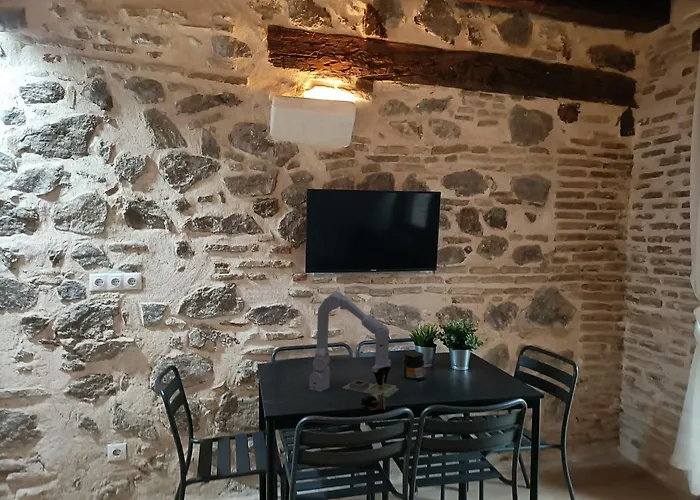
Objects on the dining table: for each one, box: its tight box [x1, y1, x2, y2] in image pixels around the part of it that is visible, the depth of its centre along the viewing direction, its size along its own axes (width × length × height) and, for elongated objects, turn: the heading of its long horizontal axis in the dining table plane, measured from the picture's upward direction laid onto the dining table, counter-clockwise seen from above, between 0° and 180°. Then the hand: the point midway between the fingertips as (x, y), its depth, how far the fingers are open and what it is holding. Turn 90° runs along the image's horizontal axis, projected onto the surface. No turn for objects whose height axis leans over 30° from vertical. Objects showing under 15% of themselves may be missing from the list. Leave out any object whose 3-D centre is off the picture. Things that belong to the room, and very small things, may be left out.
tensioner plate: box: [341, 379, 400, 398], centre depth 227 cm, size 12×23×1 cm, turn 60°
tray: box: [367, 382, 397, 397], centre depth 225 cm, size 10×9×1 cm
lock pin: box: [377, 374, 385, 389], centre depth 225 cm, size 3×3×6 cm
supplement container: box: [402, 350, 425, 382], centre depth 244 cm, size 10×10×12 cm
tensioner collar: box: [348, 379, 370, 389], centre depth 231 cm, size 7×7×1 cm
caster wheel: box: [361, 391, 386, 411], centre depth 207 cm, size 7×11×10 cm
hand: (381, 383), depth 224 cm, fingers closed on lock pin, 3 cm apart
